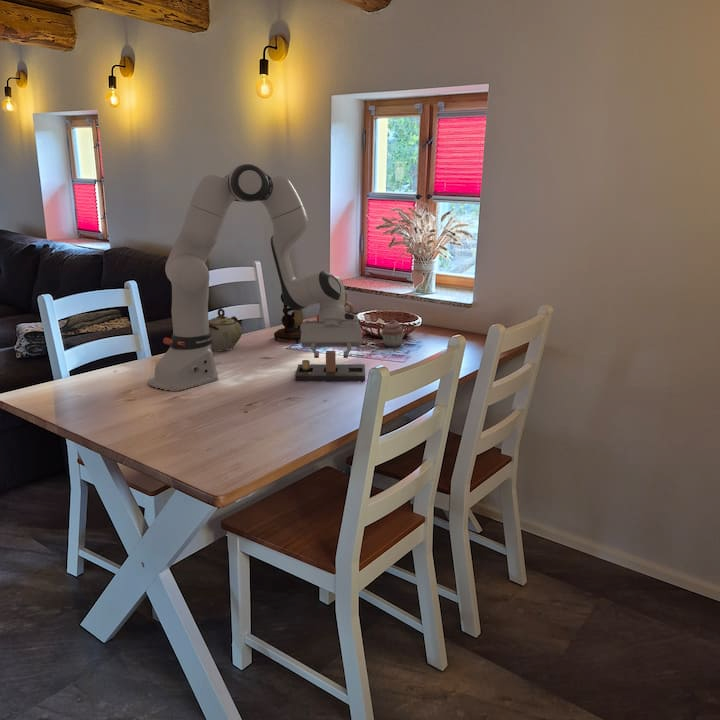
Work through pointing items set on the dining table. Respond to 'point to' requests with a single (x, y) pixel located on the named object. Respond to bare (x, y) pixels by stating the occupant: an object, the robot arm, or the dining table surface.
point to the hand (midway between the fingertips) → (331, 357)
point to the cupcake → (392, 334)
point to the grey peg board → (319, 372)
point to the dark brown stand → (290, 324)
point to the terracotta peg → (330, 361)
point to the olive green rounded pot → (224, 331)
